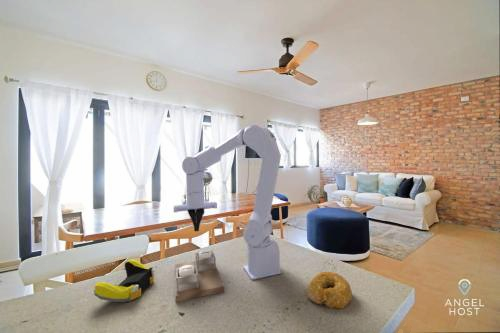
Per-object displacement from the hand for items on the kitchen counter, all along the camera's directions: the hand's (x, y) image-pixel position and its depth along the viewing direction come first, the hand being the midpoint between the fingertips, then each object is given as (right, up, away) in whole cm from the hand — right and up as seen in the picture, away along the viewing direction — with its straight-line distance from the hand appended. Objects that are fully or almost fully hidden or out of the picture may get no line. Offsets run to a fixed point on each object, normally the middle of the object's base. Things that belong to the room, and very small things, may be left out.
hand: (196, 230), depth 76 cm
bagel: (+38, -11, -21) cm, 45 cm away
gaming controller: (-14, -11, -17) cm, 25 cm away
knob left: (+2, -9, -18) cm, 20 cm away
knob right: (+5, -9, -8) cm, 13 cm away
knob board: (+3, -11, -13) cm, 17 cm away
